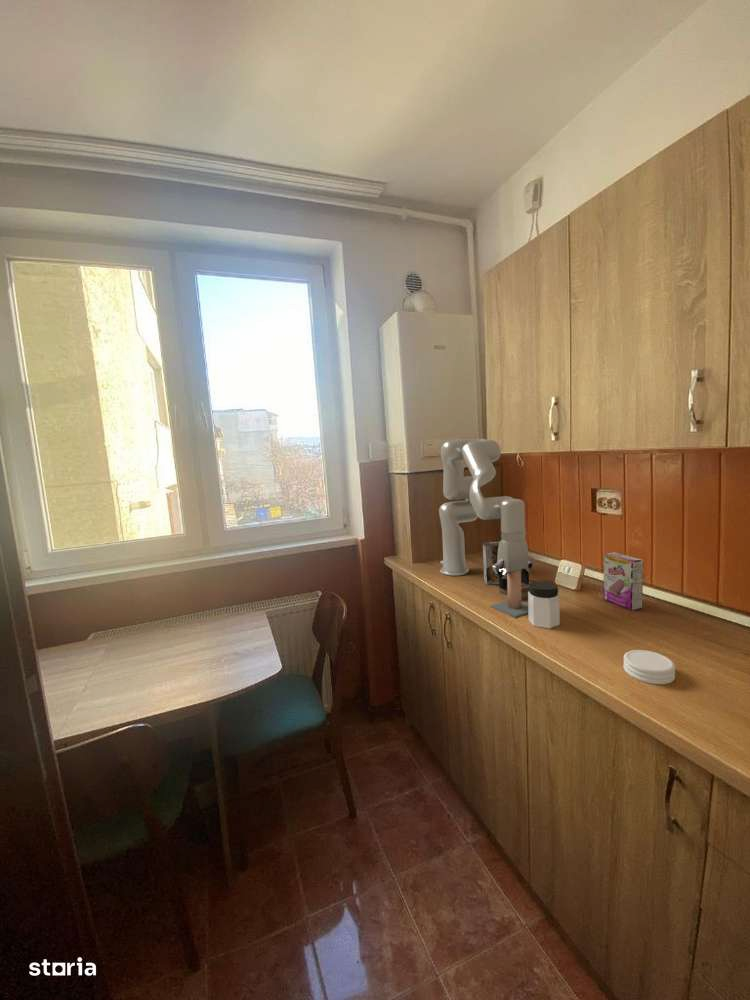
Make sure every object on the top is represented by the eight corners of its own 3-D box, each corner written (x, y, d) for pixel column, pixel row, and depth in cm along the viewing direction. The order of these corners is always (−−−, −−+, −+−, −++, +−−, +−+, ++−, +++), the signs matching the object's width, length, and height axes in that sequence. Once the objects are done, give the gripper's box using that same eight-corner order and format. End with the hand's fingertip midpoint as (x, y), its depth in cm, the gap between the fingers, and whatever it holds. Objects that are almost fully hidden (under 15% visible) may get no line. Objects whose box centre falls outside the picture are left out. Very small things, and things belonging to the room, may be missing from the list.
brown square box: (499, 592, 151) (499, 582, 151) (518, 587, 155) (518, 577, 155) (518, 600, 143) (518, 589, 142) (538, 595, 147) (537, 584, 146)
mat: (490, 606, 139) (490, 605, 139) (514, 600, 143) (514, 598, 143) (514, 617, 129) (514, 615, 129) (539, 609, 133) (539, 608, 133)
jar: (563, 628, 119) (563, 589, 118) (535, 629, 120) (535, 590, 118) (551, 616, 128) (551, 579, 127) (525, 617, 129) (525, 581, 127)
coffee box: (506, 579, 166) (505, 540, 164) (509, 584, 160) (508, 544, 158) (483, 579, 167) (482, 541, 165) (486, 584, 161) (485, 545, 159)
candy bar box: (602, 599, 139) (602, 553, 137) (613, 597, 140) (613, 551, 138) (631, 611, 128) (632, 561, 126) (643, 608, 130) (644, 559, 128)
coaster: (644, 688, 89) (644, 673, 89) (614, 664, 99) (614, 651, 99) (686, 683, 90) (686, 668, 90) (652, 660, 100) (652, 647, 99)
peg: (505, 605, 137) (504, 568, 136) (514, 603, 139) (513, 566, 137) (514, 610, 133) (513, 572, 132) (524, 607, 135) (523, 569, 134)
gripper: (523, 531, 140) (524, 578, 142) (485, 538, 133) (486, 588, 135) (541, 534, 133) (541, 584, 135) (501, 542, 126) (502, 594, 128)
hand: (514, 586), depth 135 cm, fingers open, 9 cm apart
